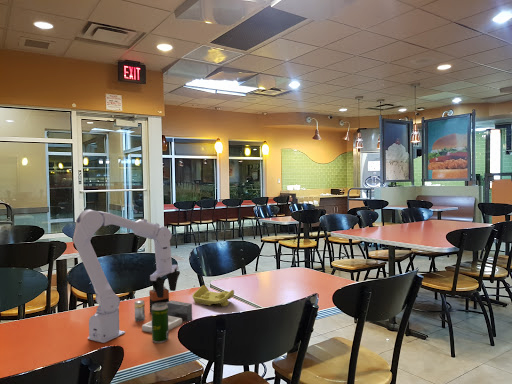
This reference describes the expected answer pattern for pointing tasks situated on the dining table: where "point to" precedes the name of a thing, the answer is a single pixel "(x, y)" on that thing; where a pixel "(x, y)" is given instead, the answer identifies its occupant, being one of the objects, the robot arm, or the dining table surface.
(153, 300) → the battery
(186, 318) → the block
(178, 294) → the dining table surface
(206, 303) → the plastic component
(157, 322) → the beer can
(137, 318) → the silver cylindrical container
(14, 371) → the dining table surface
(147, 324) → the tray
